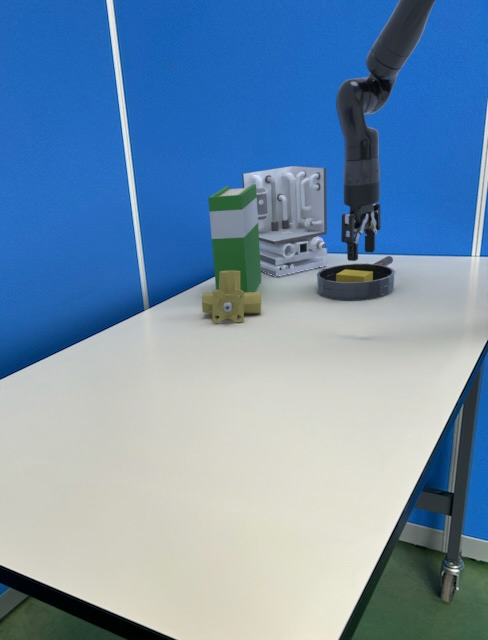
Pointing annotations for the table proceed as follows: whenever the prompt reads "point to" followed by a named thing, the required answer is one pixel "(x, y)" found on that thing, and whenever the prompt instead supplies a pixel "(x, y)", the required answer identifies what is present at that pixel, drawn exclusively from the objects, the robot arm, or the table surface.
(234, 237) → the hardback book
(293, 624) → the table surface
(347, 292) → the pan
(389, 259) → the pan handle
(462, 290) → the table surface
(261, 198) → the grey pipe machine model
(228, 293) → the ball valve
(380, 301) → the table surface
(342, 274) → the sponge
